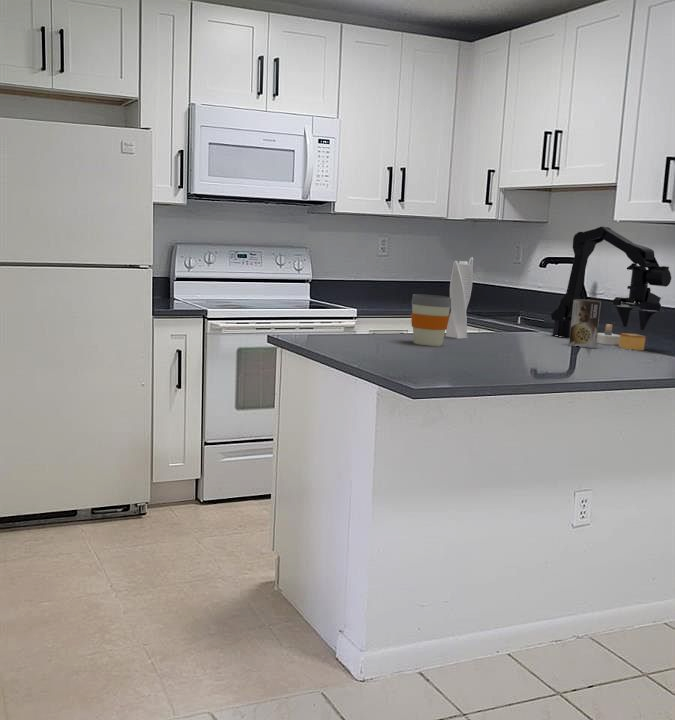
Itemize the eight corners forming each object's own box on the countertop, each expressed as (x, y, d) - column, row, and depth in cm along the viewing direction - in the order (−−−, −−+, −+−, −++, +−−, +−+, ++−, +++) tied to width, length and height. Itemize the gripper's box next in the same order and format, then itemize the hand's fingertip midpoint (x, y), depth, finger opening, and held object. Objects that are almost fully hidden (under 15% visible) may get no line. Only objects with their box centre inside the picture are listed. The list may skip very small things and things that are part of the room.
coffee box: (596, 347, 297) (601, 300, 295) (595, 348, 291) (601, 301, 289) (569, 344, 300) (574, 298, 298) (568, 345, 294) (573, 299, 292)
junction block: (604, 344, 308) (606, 325, 307) (587, 340, 318) (589, 322, 317) (626, 345, 312) (629, 326, 311) (609, 341, 321) (611, 323, 320)
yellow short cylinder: (629, 349, 297) (631, 335, 296) (618, 347, 302) (620, 333, 301) (643, 350, 299) (645, 336, 298) (632, 347, 304) (634, 333, 303)
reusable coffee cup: (421, 346, 261) (426, 297, 259) (400, 340, 272) (404, 293, 270) (455, 346, 267) (460, 298, 264) (433, 341, 278) (437, 294, 275)
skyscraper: (473, 339, 294) (481, 257, 290) (459, 340, 288) (467, 257, 284) (453, 336, 299) (460, 256, 295) (439, 337, 294) (447, 255, 290)
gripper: (676, 287, 291) (670, 332, 294) (640, 283, 309) (635, 325, 311) (650, 285, 287) (644, 331, 290) (614, 281, 305) (609, 324, 307)
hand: (633, 328), depth 299 cm, fingers open, 9 cm apart
